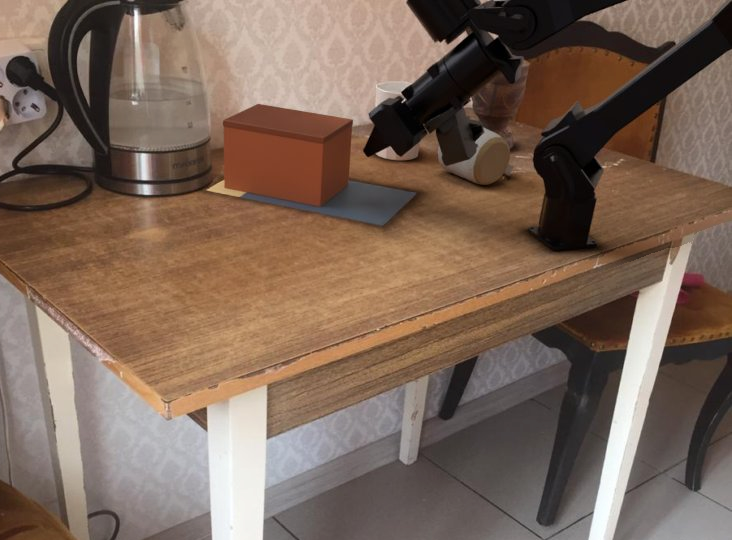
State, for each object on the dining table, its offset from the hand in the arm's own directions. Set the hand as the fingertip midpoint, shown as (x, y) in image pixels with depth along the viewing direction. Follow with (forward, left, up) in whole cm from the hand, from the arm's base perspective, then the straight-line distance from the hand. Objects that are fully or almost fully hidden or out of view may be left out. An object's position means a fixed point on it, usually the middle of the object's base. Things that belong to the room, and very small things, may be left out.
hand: (366, 153), depth 111 cm
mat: (+5, +5, -6) cm, 10 cm away
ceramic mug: (+7, -20, -7) cm, 22 cm away
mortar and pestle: (+21, -28, -7) cm, 36 cm away
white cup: (+19, -12, -7) cm, 24 cm away
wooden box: (+7, +8, -6) cm, 13 cm away
